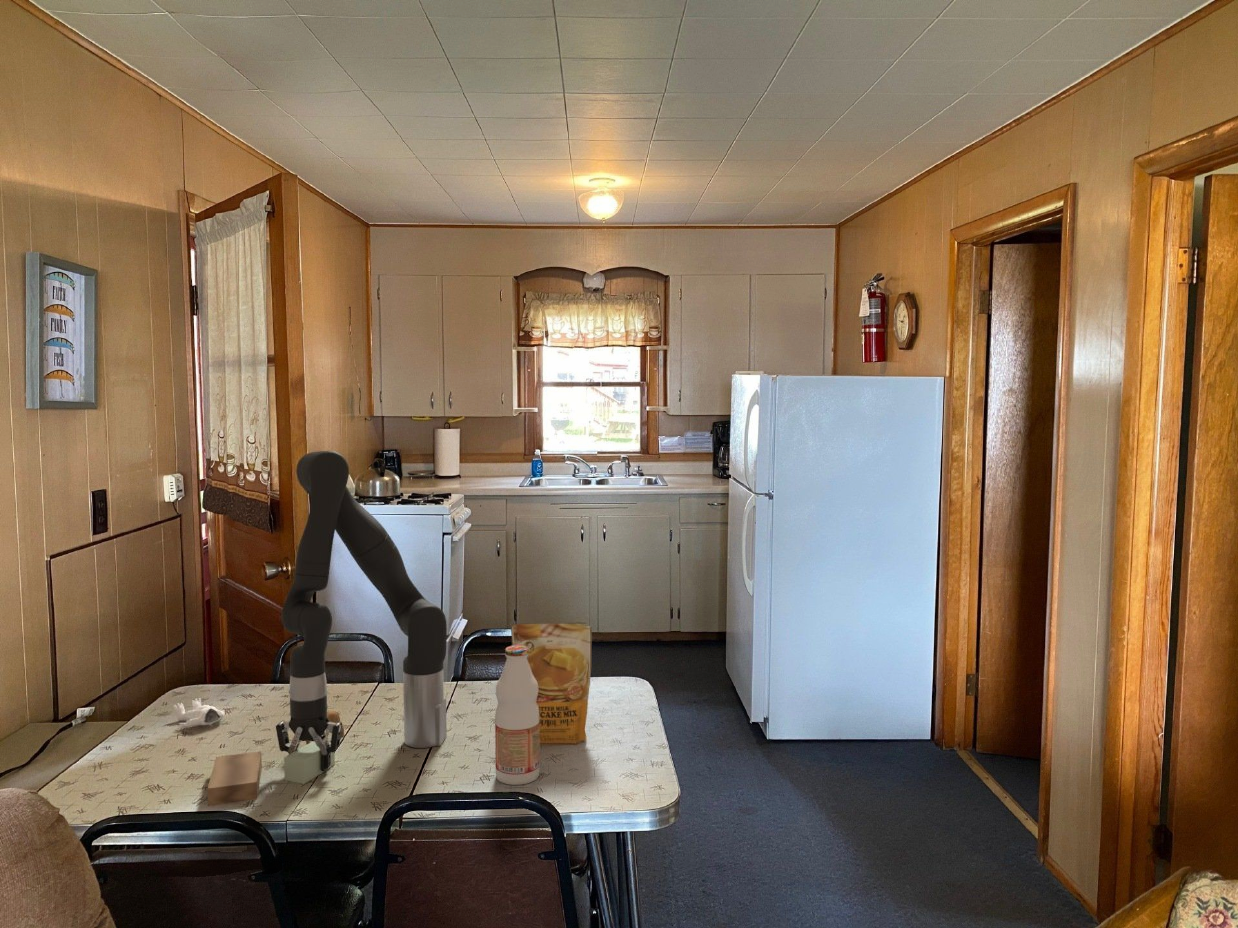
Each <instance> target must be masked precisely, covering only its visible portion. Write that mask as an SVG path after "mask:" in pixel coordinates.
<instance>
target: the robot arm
mask: <svg viewBox="0 0 1238 928" xmlns="http://www.w3.org/2000/svg"><path fill="white" fill-rule="evenodd" d="M295 471H296V472H295V474H296V478H297V481H298V483H299V485H300V486H301V487H302V489H304V490H305V492H306V493H307V495H309V497H310V506H309V513H308V516H307V521H306V524H305V527H304V529H303V532H302V535H301V539H300V541H299V544H298V546H297V553H296V557H295V558H296V559H295V565H294V566H295V567H294V577H293V581H292V582H291V583H292V584H291V586H290V588H289V590H288V593H287V595H286V598H285V601H284V604H283V606H282V610H281V617H280V618H281V624H282V626H283V628H284V629H285V631H286V632H288V633H290V634H296V635H301V636H304V640H303V643H302V644H298V645H295V646H294V647H293V648H292V649H291V651H290V654H289V656H290V657H289V661H290V663H289V664H290V665H289V666H290V667H289V668H290V669H289V670H290V677H289V689H288V690H289V691H288V693H289V716H290V719H289V721H288V720H287V721H285V720H283V719H282V720H281V721H280V722H278V723H277V724H276V725H275V731H276V736H277V741H278V747H279V751H280V752H286V753H288V755H289V754H291V753H293V752H295V751H296V750H298V749H299V746H300V745H301V742H306V741H307V740H308V741H310V742H312V741H315V743H316V745H317V746H318V747H319V749H320V751H321V753H322V755H321V771H324V772H326V771H328V770H329V769H330V768H331V767H330V765H331V752H334V753H335V752H336V750H338V749H339V747H340V745H341V744H340V743H341V738H342V737H341V730H342V726H343V722H342V721H341V722H337V723H333V722H329V720H328V718H327V712H328V690H327V689H328V686H327V684H328V682H327V675H326V650H327V646H328V642H329V639H330V633H331V631H332V627H333V626H332V625H333V616H332V613H331V610H330V609H329V608H328V606H327V605H325V604H323V603H318V602H313V601H312V599H313V596H314V594H315V592H320V591H323V590H325V589H326V588H327V587H328V585H329V584H328V583H329V578H330V577H329V576H330V568H331V560H332V551H333V545H334V544H333V543H334V539H335V534H337V535H338V537H339V538H340V540H341V541H342V543H343V544H344V545H345V547H346V548H347V550H348V552H349V554H350V555H351V557H352V559H354V562H355V563H356V564H357V565H358V567H359V569H360V570H361V571H362V573H363V574H364V575H365V576H366V578H367V579H368V580H369V582H370V583H371V584H372V585H373V587H374V588H375V589H376V590H377V591H378V593H380V594H381V596H382V598H383V599H384V600H385V602H386V604H387V606H388V607H389V610H390V612H391V613H392V615H393V617H394V619H395V621H396V623H397V625H398V627H399V628H400V630H401V632H402V633H403V634H404V635H405V636H406V637H407V655H406V656H405V657H404V659H403V661H402V667H403V668H402V672H403V673H402V676H403V677H402V680H403V681H402V685H403V689H402V690H403V723H404V724H403V736H404V738H403V739H404V741H403V742H404V744H405V745H406V746H407V747H410V748H414V749H415V748H416V749H425V748H433V747H436V746H437V747H439V746H442V745H443V742H444V741H445V739H446V738H447V735H448V734H447V697H445V696H444V694H445V691H444V688H445V687H444V661H445V659H446V654H447V640H448V639H447V637H448V636H447V626H448V625H447V619H446V615H445V612H444V611H443V610H442V609H441V608H440V607H439V606H437V605H435V604H433V603H432V602H430V601H428V599H426V598H425V597H424V595H422V593H421V592H420V591H419V589H418V588H417V587H416V586H415V584H414V583H413V581H412V580H411V578H410V577H409V574H408V572H407V569H406V567H405V564H404V563H405V562H404V561H403V558H402V555H401V553H400V551H399V549H398V547H397V545H396V544H395V542H394V540H393V539H392V538H391V536H390V535H389V532H387V530H386V529H385V527H384V526H383V525H382V524H381V523H380V522H379V520H377V519H376V518H375V517H374V516H373V514H371V513H370V512H369V511H368V510H367V509H366V508H365V507H363V506H362V505H361V504H360V503H359V502H358V501H357V499H355V498H354V496H353V495H352V493H351V492H350V491H349V489H348V487H347V485H348V481H349V477H350V467H349V463H348V461H347V459H346V458H345V456H343V455H342V454H341V453H339V452H337V451H335V450H319V451H318V450H317V451H312V452H308V453H305V454H304V455H302V457H301V458H299V460H298V462H297V465H296V469H295ZM327 728H329V729H330V733H329V734H331V738H330V741H329V736H328V737H327V735H326V729H327ZM289 730H291V731H292V733H293V734H294V735H293V737H292V739H291V741H290V737H289V732H288V731H289ZM329 742H331V744H329ZM329 767H330V768H329ZM328 768H329V769H328Z"/></svg>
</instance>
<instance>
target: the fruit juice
mask: <svg viewBox="0 0 1238 928" xmlns="http://www.w3.org/2000/svg"><path fill="white" fill-rule="evenodd" d="M528 653H529V651H528V647H526V646H521V645H514V646H512V645H510V646H507V647H506V648H505V650H504V654H505V658H506V660H505V664H504V667H503V670H502V673H501V676H500V677H499V679H498V680H497V682H496V685H495V697H496V699H497V705H496V708H495V714H494V718H495V719H494V727H495V728H494V731H495V733H494V735H495V736H494V738H495V741H494V743H495V745H494V746H495V747H494V749H495V750H494V751H495V755H494V757H495V759H494V761H495V776H496V779H497V780H498V781H499V782H500V783H502V784H505V785H509V786H519V785H526V784H529V783H532V782H534V781H536V780H537V779H538V777H539V776H540V772H541V771H540V767H541V766H540V763H541V762H540V759H541V758H540V756H541V755H540V754H541V753H540V749H541V748H540V740H539V708H538V705H537V702H536V700H537V696H538V691H539V689H538V683H537V680H536V679H535V677H534V676H533V674H532V671H531V668H530V666H529V663H528V660H527V656H528Z"/></svg>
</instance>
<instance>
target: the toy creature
mask: <svg viewBox="0 0 1238 928" xmlns="http://www.w3.org/2000/svg"><path fill="white" fill-rule="evenodd" d="M176 704H177V705H176ZM176 704H174V705H173V707H172V709H173V711H174V713H175V715H176V716H177V720H178V721H179V723H178V725H177V724H176V725H175V727H176V729H178V730H182V731H183V729H185V728H192V727H198V726H207V725H209V724H214V723H217V722H218V721H220V720H221V719H223V718H224V717H225V711H226V710H225V709H223V710H220V709H217V708H216V707H215V706H212V705H209V704H203V705H202V699H201V697H199V698H196V697H195V699H192V700H191V704H192V709H191V710H187V711H186V710H185V707H184V704H183V703H182V702H180V703H179V702H177V703H176Z"/></svg>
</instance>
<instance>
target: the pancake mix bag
mask: <svg viewBox="0 0 1238 928" xmlns="http://www.w3.org/2000/svg"><path fill="white" fill-rule="evenodd" d="M510 634H511V646H514V645H521V646H526V647H528V651H529V653H528V656H527V660H528V663H529V666H530V668H531V671H532V674H533V676H534V677H535V679H536V680H537V683H538V689H539V691H538V696H537V700H536V702H537V705H538V708H539V740H540V745H541V746H551V745H552V746H553V745H554V746H556V745H558V746H559V745H561V746H562V745H565V746H569V745H578V744H579V743H581V742H587V741H588V740H587V734H586V725H587V723H586V722H587V716H588V708H589V707H588V705H589V694H590V685H591V673H592V650H593V649H592V644H593V643H592V642H593V630H592V626H591V625H589V626H588V625H587V622H581V621H579V622H577V621H576V622H526V623H525V622H524V623H523V622H522V623H516V624H514V625H513V626H511V627H510Z"/></svg>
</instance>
